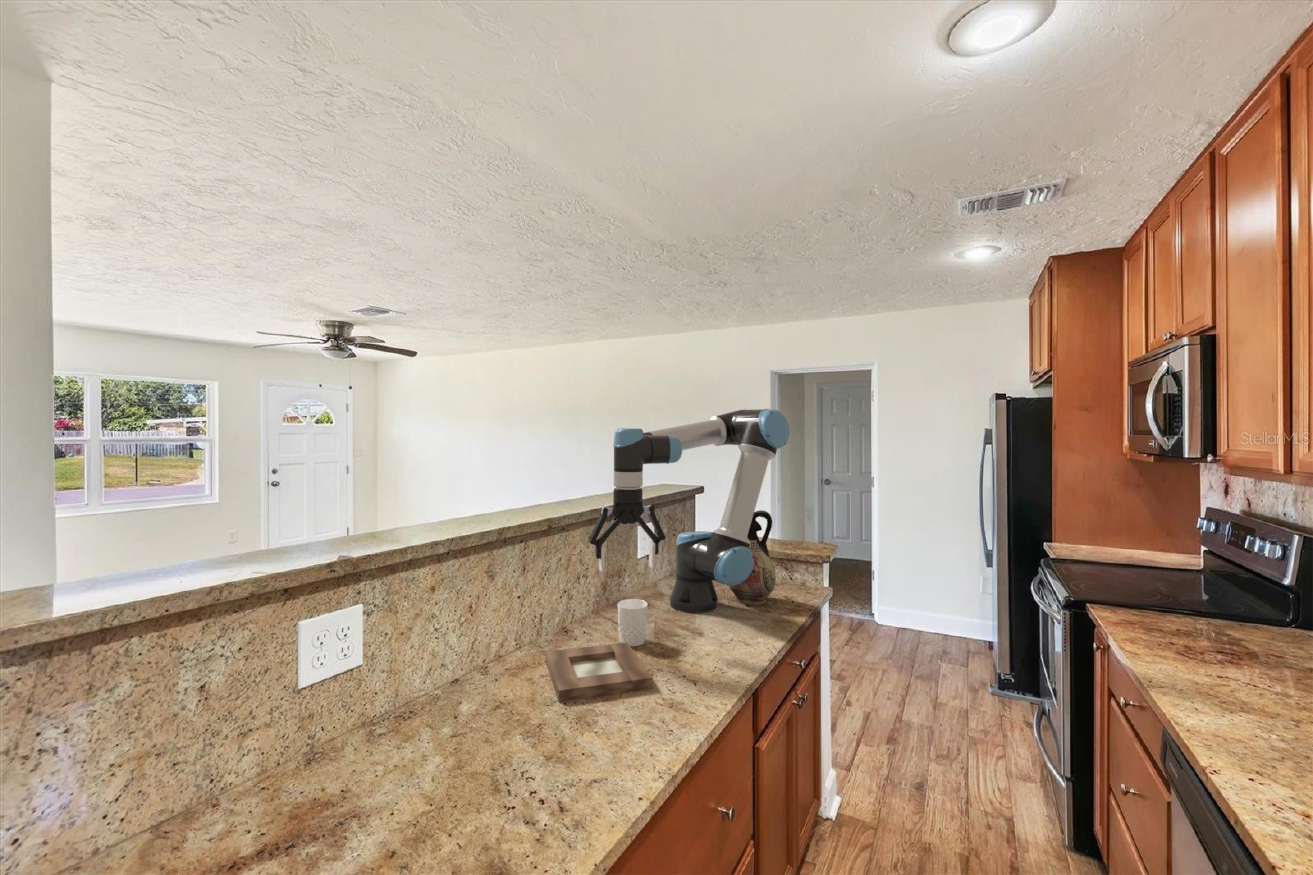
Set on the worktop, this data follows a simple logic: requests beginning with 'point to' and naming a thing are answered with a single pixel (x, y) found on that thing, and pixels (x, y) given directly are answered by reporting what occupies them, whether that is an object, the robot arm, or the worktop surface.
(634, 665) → the wooden picture frame
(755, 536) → the ceramic jug
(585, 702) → the worktop surface
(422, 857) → the worktop surface
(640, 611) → the white cup
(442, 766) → the worktop surface
